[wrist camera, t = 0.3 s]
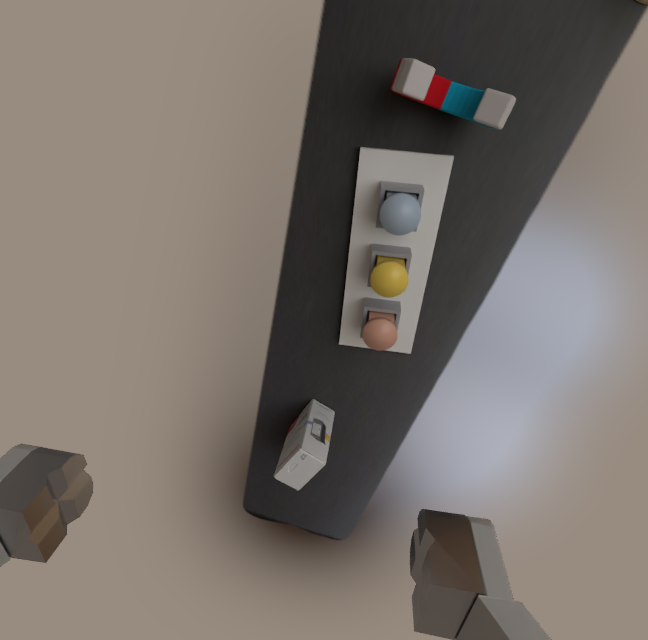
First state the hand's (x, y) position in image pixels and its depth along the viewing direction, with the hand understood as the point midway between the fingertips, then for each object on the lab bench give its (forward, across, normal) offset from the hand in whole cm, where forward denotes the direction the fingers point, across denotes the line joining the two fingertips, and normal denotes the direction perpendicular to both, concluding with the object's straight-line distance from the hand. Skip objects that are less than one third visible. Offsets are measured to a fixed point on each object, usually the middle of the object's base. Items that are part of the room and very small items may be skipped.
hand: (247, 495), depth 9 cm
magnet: (+46, -9, -10) cm, 48 cm away
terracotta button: (+44, -6, +18) cm, 48 cm away
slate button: (+44, -6, +2) cm, 44 cm away
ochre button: (+44, -6, +10) cm, 45 cm away
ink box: (+46, +3, +41) cm, 62 cm away
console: (+46, -6, +10) cm, 48 cm away
